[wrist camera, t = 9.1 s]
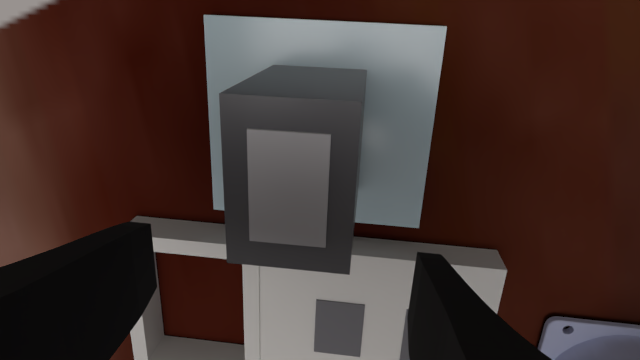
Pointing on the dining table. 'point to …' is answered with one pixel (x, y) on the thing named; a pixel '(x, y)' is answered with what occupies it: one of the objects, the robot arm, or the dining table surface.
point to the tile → (380, 97)
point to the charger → (292, 167)
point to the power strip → (311, 300)
